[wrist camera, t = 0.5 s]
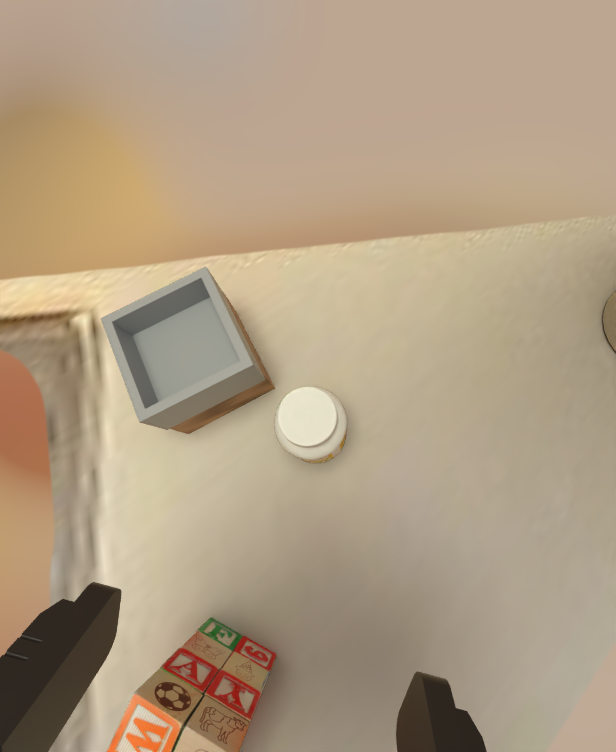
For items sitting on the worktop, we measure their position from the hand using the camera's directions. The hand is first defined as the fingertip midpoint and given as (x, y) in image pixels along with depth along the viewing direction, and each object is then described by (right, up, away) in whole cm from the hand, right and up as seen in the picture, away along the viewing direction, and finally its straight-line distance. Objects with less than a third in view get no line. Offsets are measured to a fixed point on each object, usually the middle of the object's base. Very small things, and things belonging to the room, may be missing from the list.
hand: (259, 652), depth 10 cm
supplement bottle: (+2, +2, +25) cm, 25 cm away
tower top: (-8, +9, +23) cm, 26 cm away
